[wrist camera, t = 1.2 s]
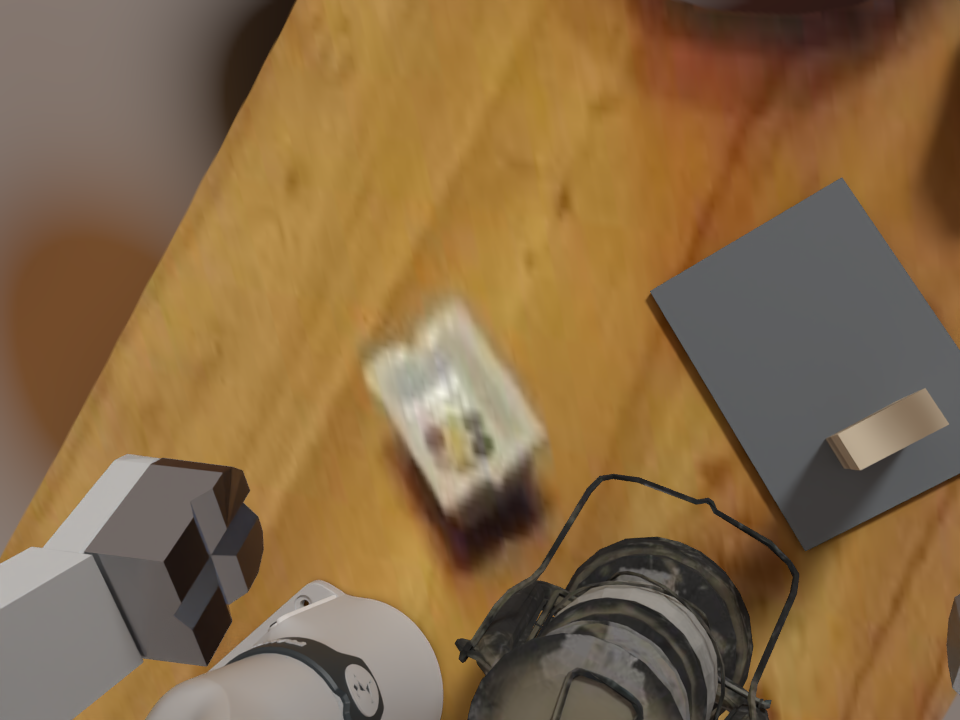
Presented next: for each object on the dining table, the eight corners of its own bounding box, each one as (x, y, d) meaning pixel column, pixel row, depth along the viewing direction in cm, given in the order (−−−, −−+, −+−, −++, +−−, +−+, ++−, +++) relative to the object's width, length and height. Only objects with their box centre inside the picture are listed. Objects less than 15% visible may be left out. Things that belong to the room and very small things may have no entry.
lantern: (500, 657, 71) (323, 788, 43) (603, 436, 71) (493, 420, 42) (727, 790, 65) (696, 1044, 37) (841, 550, 65) (900, 622, 36)
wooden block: (843, 468, 65) (860, 470, 53) (825, 438, 65) (837, 434, 54) (916, 430, 64) (949, 424, 52) (897, 400, 64) (925, 387, 53)
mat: (804, 550, 66) (805, 551, 65) (651, 292, 71) (650, 291, 70) (1019, 442, 62) (1021, 441, 62) (841, 179, 67) (842, 177, 67)
